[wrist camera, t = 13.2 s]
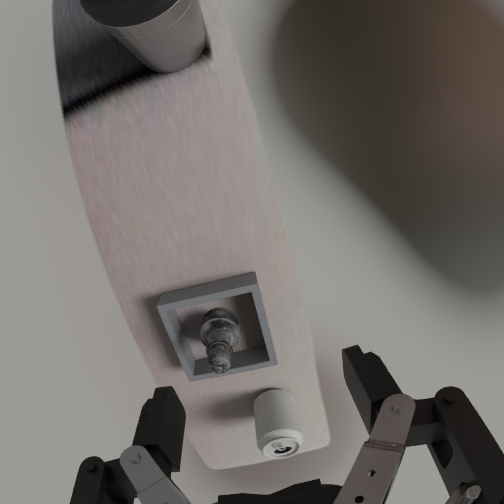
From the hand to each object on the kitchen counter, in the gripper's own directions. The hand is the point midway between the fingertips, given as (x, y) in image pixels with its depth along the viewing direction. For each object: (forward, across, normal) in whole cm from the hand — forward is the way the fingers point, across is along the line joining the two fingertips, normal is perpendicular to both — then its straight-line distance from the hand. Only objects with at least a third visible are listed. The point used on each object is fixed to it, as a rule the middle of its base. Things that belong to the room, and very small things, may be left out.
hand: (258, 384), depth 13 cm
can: (+30, +2, +33) cm, 45 cm away
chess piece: (+30, +6, +14) cm, 34 cm away
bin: (+30, +6, +14) cm, 34 cm away
